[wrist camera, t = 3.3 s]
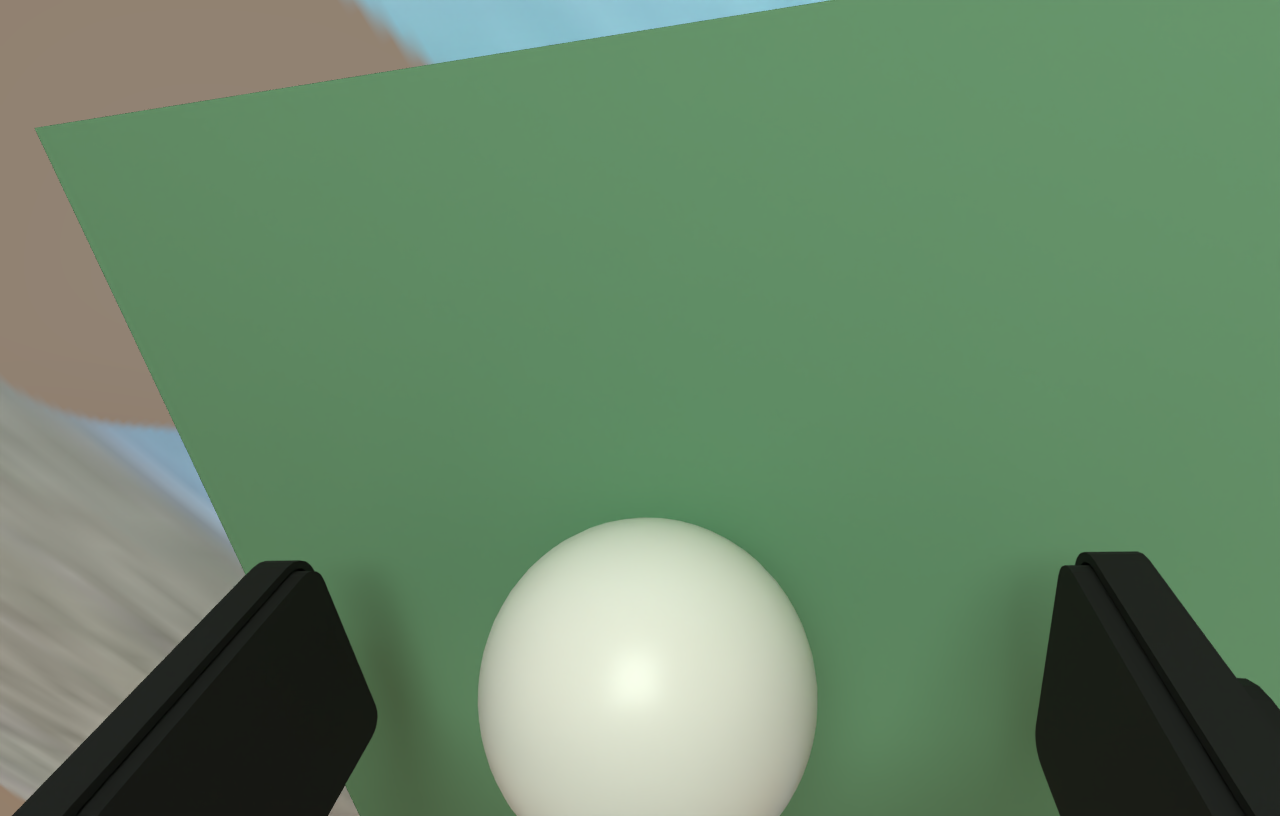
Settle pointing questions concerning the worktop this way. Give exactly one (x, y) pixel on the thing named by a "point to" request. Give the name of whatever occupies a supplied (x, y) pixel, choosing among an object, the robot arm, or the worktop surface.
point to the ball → (647, 679)
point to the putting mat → (737, 347)
